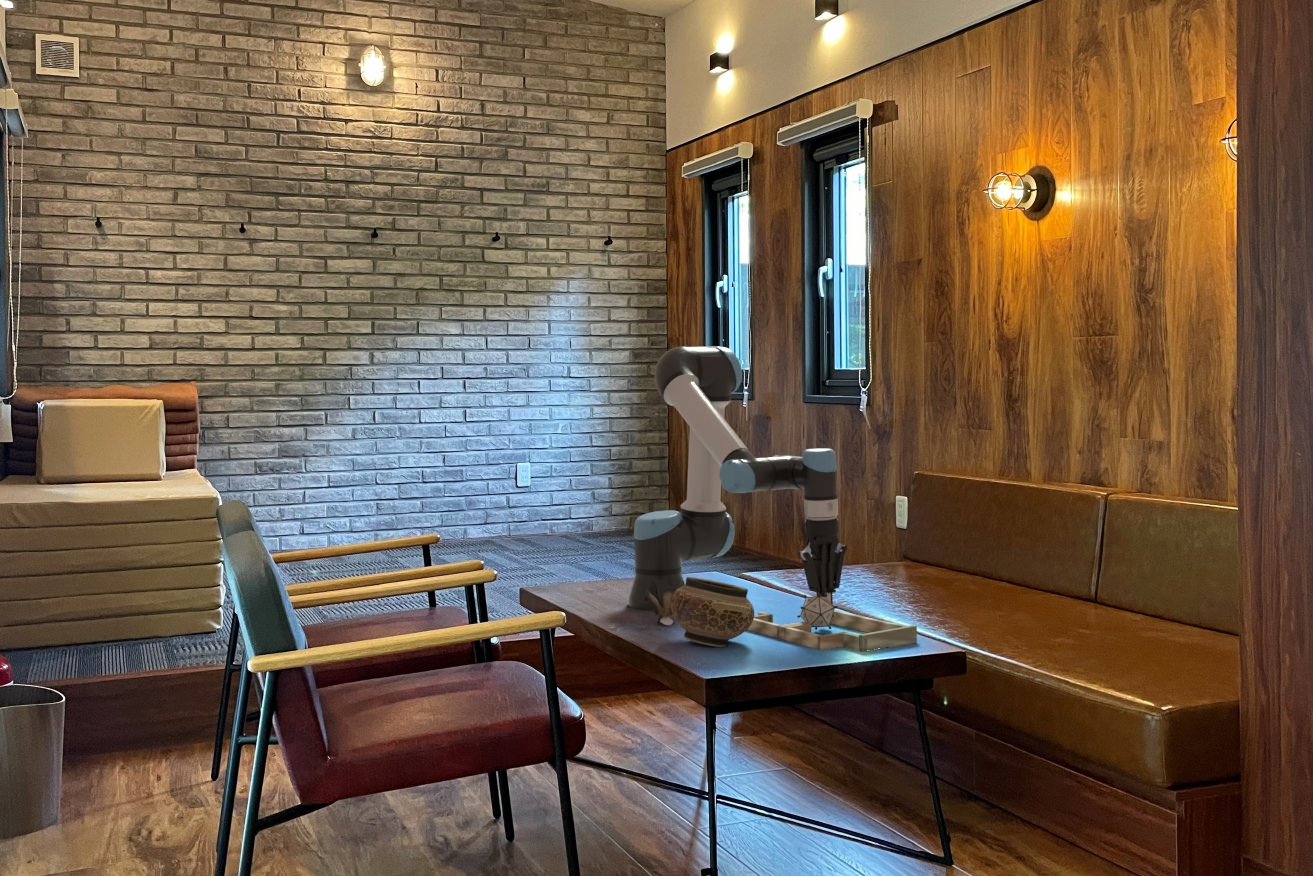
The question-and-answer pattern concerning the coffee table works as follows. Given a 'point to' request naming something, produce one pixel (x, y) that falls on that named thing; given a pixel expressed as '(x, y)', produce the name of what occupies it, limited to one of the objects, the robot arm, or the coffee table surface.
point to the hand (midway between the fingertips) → (825, 621)
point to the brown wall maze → (877, 636)
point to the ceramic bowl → (711, 611)
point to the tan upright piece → (666, 607)
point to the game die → (817, 611)
